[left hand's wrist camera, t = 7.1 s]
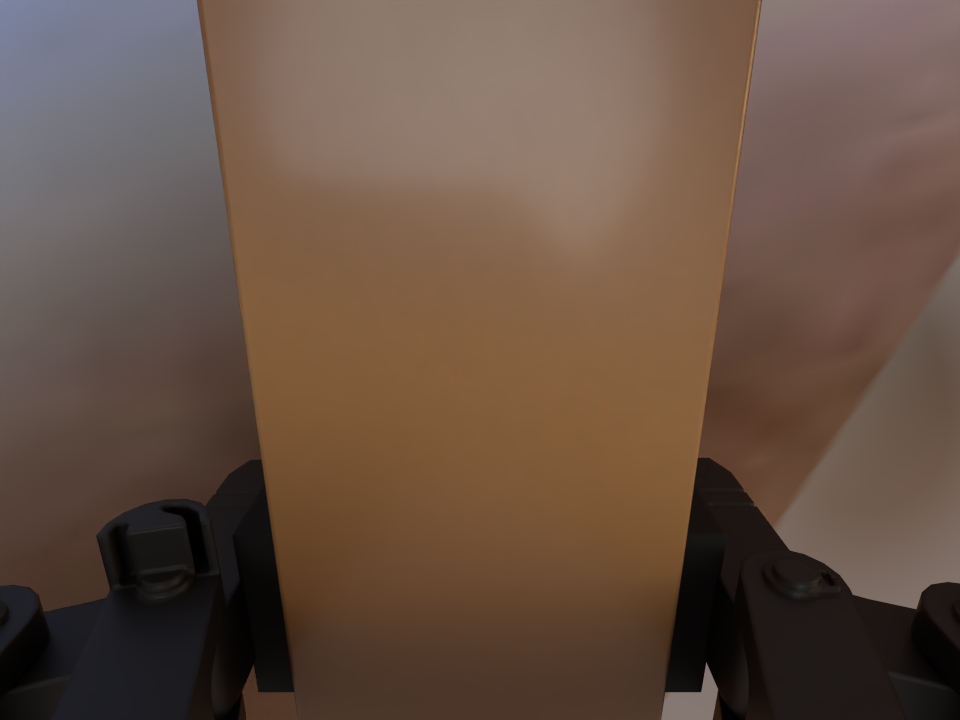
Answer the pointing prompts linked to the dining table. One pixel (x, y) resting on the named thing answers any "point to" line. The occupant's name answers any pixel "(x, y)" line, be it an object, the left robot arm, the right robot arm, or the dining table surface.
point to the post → (479, 333)
